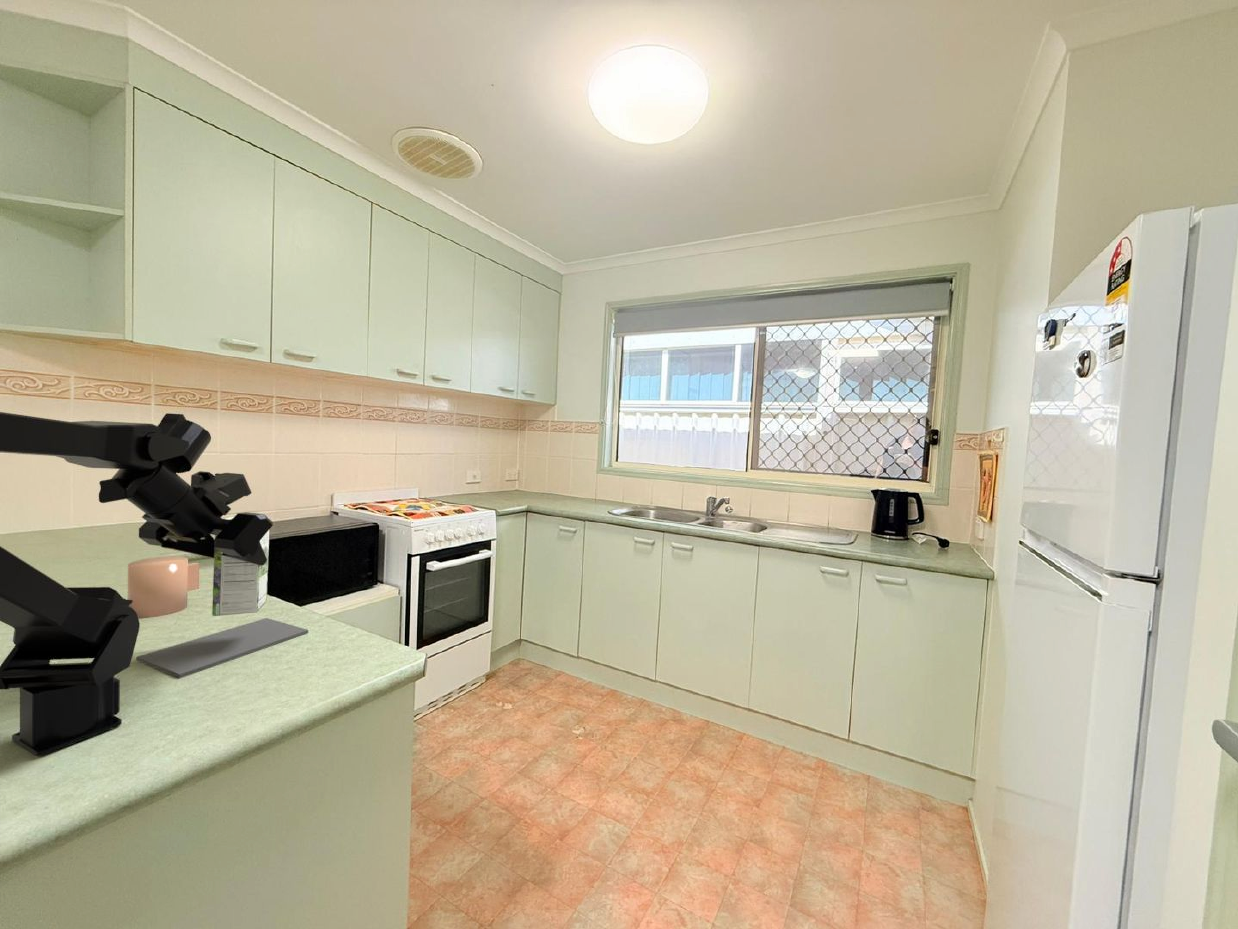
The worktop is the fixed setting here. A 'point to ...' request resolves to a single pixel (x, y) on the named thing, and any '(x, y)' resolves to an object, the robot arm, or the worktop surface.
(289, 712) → the worktop surface
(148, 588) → the terracotta mug
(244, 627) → the mat
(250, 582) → the syrup box
